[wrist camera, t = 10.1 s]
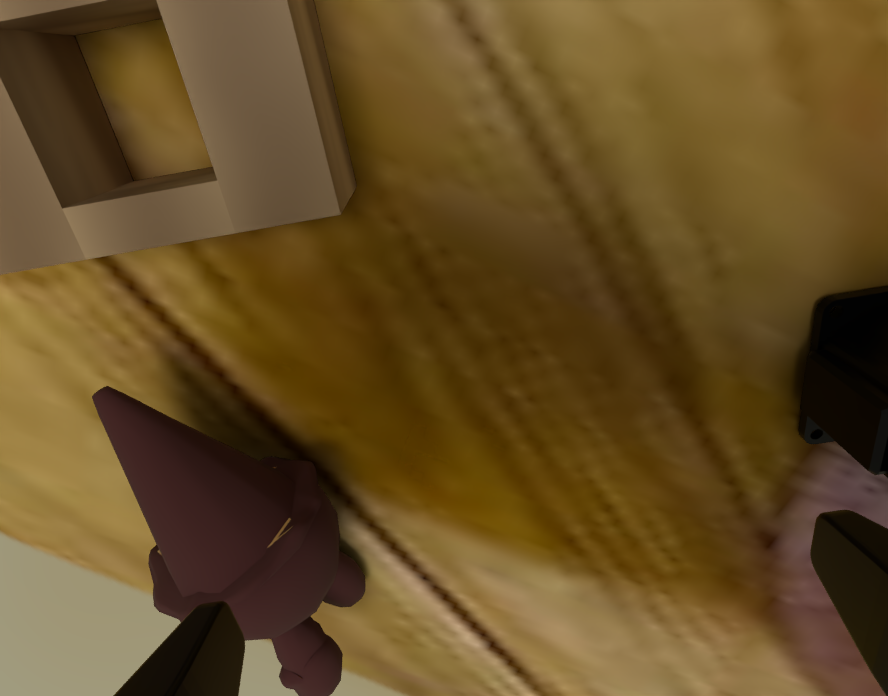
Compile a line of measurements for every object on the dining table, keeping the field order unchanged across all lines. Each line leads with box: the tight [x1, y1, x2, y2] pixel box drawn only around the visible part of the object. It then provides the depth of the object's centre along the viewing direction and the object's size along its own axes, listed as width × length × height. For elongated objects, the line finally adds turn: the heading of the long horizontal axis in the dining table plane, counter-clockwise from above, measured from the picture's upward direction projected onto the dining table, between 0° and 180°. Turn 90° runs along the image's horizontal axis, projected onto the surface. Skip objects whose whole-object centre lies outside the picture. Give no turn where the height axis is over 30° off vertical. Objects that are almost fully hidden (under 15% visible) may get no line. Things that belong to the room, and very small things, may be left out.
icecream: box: [92, 386, 365, 696], centre depth 21 cm, size 7×7×15 cm
